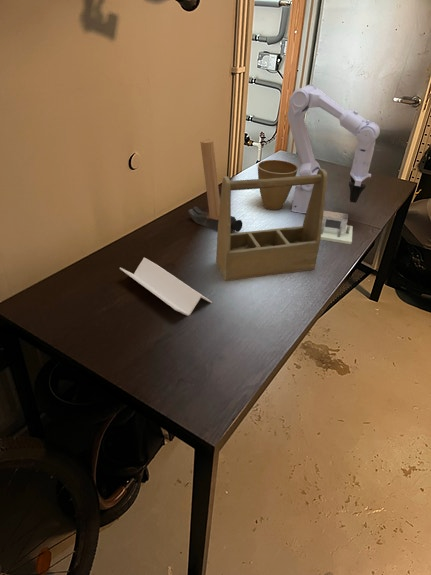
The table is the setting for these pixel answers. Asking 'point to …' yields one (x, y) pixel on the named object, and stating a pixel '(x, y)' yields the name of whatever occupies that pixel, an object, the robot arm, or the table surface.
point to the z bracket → (166, 287)
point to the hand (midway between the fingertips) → (353, 197)
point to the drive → (334, 222)
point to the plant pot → (275, 169)
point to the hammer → (211, 192)
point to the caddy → (270, 233)
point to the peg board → (338, 235)
